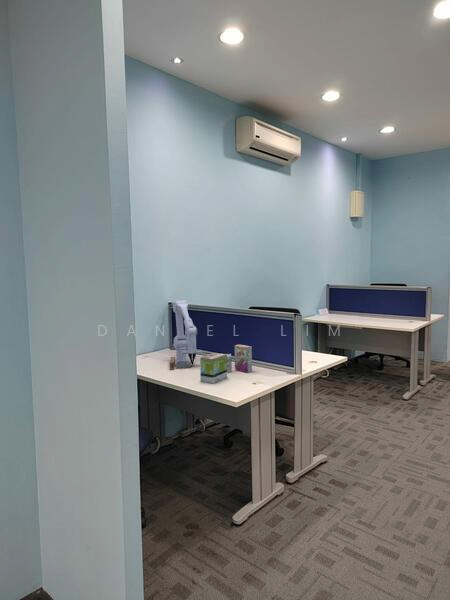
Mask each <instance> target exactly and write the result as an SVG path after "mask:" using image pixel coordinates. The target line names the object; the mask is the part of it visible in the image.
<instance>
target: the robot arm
mask: <svg viewBox="0 0 450 600" xmlns="http://www.w3.org/2000/svg"><path fill="white" fill-rule="evenodd" d="M188 308H189V302H188V300H187V299H185V300H183V299H182V300H173V303H172V311H173V313H175V323H176V325H175V326H176V336H175V337H173V348H175V354H176V356H175V363H176V362H179V361H188V358H189V361H191V366H193V365H194V362H195V358H196V357H197V355H198V354H199V355H200V354H201V355H203V354H204V351H203V350H197V336H198V328H197V327H196V325H194V323H193V320H192V318H191V317H190V315H189V312H188ZM184 328H185V329H186V330H185V331H184Z"/></svg>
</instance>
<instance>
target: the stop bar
mask: <svg viewBox="0 0 450 600" xmlns="http://www.w3.org/2000/svg"><path fill="white" fill-rule="evenodd" d="M174 370H176V356H170V359H169V371H174Z"/></svg>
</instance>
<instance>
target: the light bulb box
mask: <svg viewBox="0 0 450 600" xmlns="http://www.w3.org/2000/svg"><path fill="white" fill-rule="evenodd" d="M226 354H227V373H231V372H232V370H233V367H232V364H233V363H232V354H231V353H226Z"/></svg>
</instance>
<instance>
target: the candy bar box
mask: <svg viewBox="0 0 450 600" xmlns="http://www.w3.org/2000/svg"><path fill="white" fill-rule="evenodd" d="M252 351H253V349H252V346H249V345H244V344H235V345H234V370H235V371H238V372H244V373H248V374H249V373H251V372H253V352H252Z"/></svg>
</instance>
